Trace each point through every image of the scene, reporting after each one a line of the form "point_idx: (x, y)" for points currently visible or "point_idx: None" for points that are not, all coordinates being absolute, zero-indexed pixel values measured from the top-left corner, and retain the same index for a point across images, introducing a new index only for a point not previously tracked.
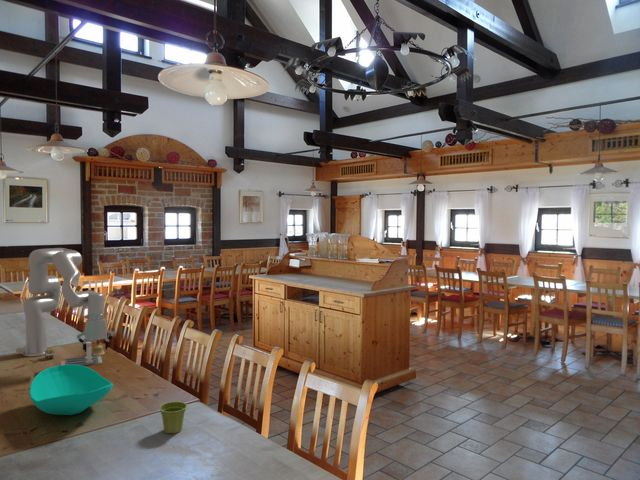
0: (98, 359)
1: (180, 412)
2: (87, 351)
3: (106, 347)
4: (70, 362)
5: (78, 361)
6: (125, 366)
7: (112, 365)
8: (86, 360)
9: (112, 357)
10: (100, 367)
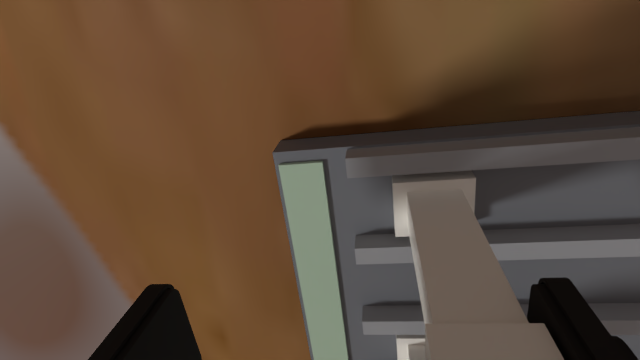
0: (332, 288)
1: None
2: (505, 291)
3: (139, 309)
4: (631, 303)
5: None
6: (30, 30)
7: (184, 125)
8: None
9: (228, 355)
10: (304, 97)
